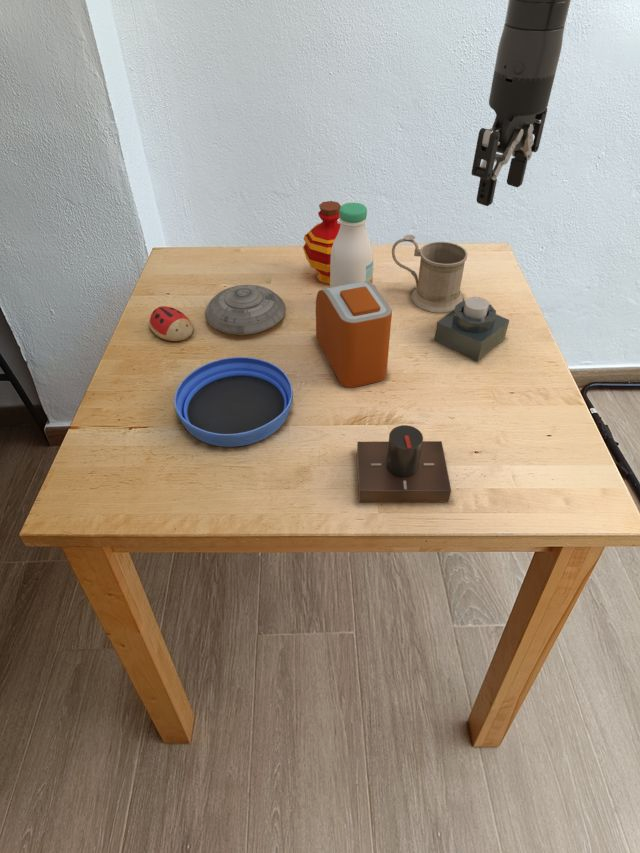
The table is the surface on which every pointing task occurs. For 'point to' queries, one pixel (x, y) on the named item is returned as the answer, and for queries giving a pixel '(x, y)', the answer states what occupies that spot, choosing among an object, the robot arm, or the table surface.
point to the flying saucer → (245, 310)
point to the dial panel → (391, 488)
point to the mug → (437, 275)
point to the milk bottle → (351, 248)
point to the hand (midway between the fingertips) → (499, 194)
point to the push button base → (471, 332)
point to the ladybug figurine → (170, 324)
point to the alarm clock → (354, 332)
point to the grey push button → (476, 307)
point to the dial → (404, 450)
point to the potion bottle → (323, 240)
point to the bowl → (234, 401)
